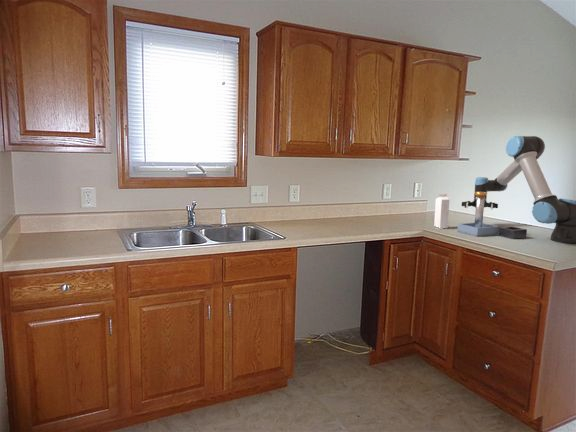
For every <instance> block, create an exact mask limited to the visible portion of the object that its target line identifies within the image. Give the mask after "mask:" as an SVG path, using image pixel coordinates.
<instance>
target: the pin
mask: <svg viewBox="0 0 576 432" xmlns="http://www.w3.org/2000/svg"><path fill="white" fill-rule="evenodd" d="M474 193H475V195H476V196H477V199H476V208H475V211H474V222H473V223H474V227H476V228H482V223H484V211H485V210H484V209H485V207H484V201H485V196H487V197H488V192H475V191H474Z"/></svg>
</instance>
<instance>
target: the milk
mask: <svg viewBox="0 0 576 432" xmlns="http://www.w3.org/2000/svg"><path fill="white" fill-rule="evenodd" d="M434 206H435V207H434V221H433V223H434V225H433V227H434V226H436V227H439V228H449V227H448V226H449V213H450V198H449V197H448V195H447V193H439V194H438V197H436V198H435V205H434Z"/></svg>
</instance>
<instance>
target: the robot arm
mask: <svg viewBox="0 0 576 432" xmlns="http://www.w3.org/2000/svg"><path fill="white" fill-rule="evenodd" d="M545 148H546V145H545V142H544V140H543V139H542V138H541V137H539V136H535V135H532V136H529V135H528V136H527V135H516V136H513V137H512V136H511V138H510V139H508V141H507V143H506V145H505V151H506V154H507V155H508V156H509V157H512V158H513V159H514V161H513V162H511V163H510V164H509V165H508V166H507V167H506V168H505V169H504V170H503V171H502V172H501V173H500V174H499V175H497V177H495V178H494V179H489V178H488V177H485V176H484V177H481V176H478V177H476V178H475V180H474V181H475V182H474V192H473V193H474V194H473V196H474V197H473V201H471V200H467V201H461V207H464V208H465V209H468V207H473V208H475V209H476V199H477V196H476V195H475V192H487V193H488V192H504V191H506V190H507V188H508V184H509V183H510V182H511V181H512V180H513V179H514V178H516V177H517V176H518V175H519V174H520V173H521V172H522V173H523V175H524V177H525V180H526V182H527V185H528V186H529V189H530V192H531V194H532V196H533V198H534V201H533V203H532V204H533V206H532V210H531V214H532V217H533V218H534V219H535V220H536V221H537V222H538V223H541V224H545V225H546V224H548V225H550V224H555V227H554V228H553V230H552V232H551V234H550V240H551V241H554V242H560V243H565V244H566V243H567V244H576V200H575V199H568V198H558V196H557V195H556V194H553V193H552V191H551V189H550V187H549V184H548V181H547V180H546V178H545V175H544V172H543V171H542V169H541V167H540V165H539V162H538V159H539V158H540V157H541V156H542V155H543V153H544V152H545ZM487 197H488V195H487V196H485V201H484V208H490V210H493V209H498V208H499V203H496V202H492V201H489V202H488V201H487Z"/></svg>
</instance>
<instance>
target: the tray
mask: <svg viewBox="0 0 576 432" xmlns="http://www.w3.org/2000/svg"><path fill="white" fill-rule="evenodd" d="M474 223H475V222H465V223H457V233H460V232H461V233H462V234H465V235H469V236H473V237H479V238H480V237H490V236H499V227H500V226H498V225H493V224H487V223H484V222H483V223H482V228H476V227H474Z"/></svg>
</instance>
